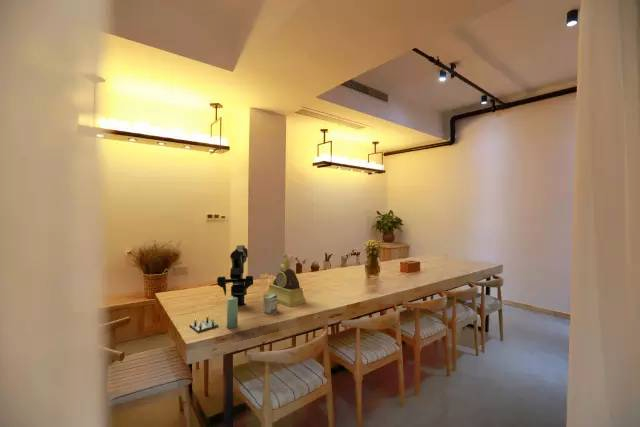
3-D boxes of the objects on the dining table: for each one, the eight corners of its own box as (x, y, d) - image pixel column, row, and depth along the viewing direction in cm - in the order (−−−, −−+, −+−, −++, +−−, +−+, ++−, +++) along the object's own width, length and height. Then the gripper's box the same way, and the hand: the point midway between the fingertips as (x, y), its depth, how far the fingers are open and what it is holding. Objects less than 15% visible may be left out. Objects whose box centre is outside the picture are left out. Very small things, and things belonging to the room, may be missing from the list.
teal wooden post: (234, 323, 143) (234, 296, 142) (239, 326, 139) (239, 298, 139) (225, 326, 139) (225, 298, 139) (230, 329, 135) (230, 300, 135)
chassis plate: (209, 320, 146) (209, 314, 146) (218, 326, 139) (218, 319, 139) (189, 326, 138) (189, 319, 138) (198, 332, 132) (198, 325, 131)
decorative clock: (263, 296, 188) (264, 252, 188) (278, 293, 197) (279, 250, 197) (289, 307, 168) (290, 258, 168) (305, 302, 177) (306, 255, 177)
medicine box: (270, 313, 157) (270, 298, 157) (263, 312, 159) (263, 297, 159) (277, 309, 165) (277, 294, 165) (270, 308, 166) (270, 293, 166)
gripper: (217, 261, 150) (213, 287, 139) (253, 261, 154) (252, 286, 143) (220, 273, 158) (216, 298, 147) (253, 272, 161) (252, 297, 151)
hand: (234, 295), depth 147 cm, fingers open, 9 cm apart
